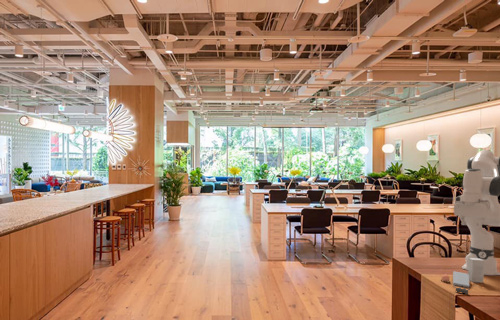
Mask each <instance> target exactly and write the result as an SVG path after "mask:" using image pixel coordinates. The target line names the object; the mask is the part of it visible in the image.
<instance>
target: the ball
mask: <svg viewBox="0 0 500 320" xmlns="http://www.w3.org/2000/svg"><path fill="white" fill-rule="evenodd" d="M441 279H442V282H444V281H447V282H449V281H450V276H449V275H448V274H443V275H441Z"/></svg>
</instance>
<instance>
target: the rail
mask: <svg viewBox="0 0 500 320" xmlns="http://www.w3.org/2000/svg"><path fill="white" fill-rule="evenodd" d="M461 288H462V287H459V288H456V287H455V292H456V291H457V292H462V293H465V294H464V295H467V294H468V295H469V290H466V289H467V288H464V289H461ZM457 292H456V293H457ZM462 293H461V294H462Z"/></svg>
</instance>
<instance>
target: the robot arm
mask: <svg viewBox="0 0 500 320" xmlns="http://www.w3.org/2000/svg"><path fill="white" fill-rule="evenodd" d="M461 187H462V189H463V190H462V194H461V195H458V196H456V197H454V204H453V214H454V215H455V216H456V217H457V216H458V217H459V219H460V221H461V223H460V224H461V226H467V227H468V229H469V231H470V245H469V253H468V254H466V256H465V258H464V260H465V263H464V264H463V265H462V266H461V269H463V270H466V271H468V262H469V258H480V259H482V260H484V276H500V271H498V269H497V264H498V263H497V262H498V261H497V259H496V258H495V257H494V256H495V250H494V243H495V242H494V241H495V237H494V235H493V234H492V233H491V232H489V231H487V230H486V229H484V227H483V225H484V226H492V227H500V202H499V199H498V197H499V196H500V156H495V154H494V152H493V151H491V150H489V149H482V150H479V151H478V152H477V153H476V154H475V155H474V156H472V157H470V158H469V159H467V162H466V169H465V170H464V174H463V179H462V184H461Z"/></svg>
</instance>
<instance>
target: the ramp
mask: <svg viewBox="0 0 500 320" xmlns="http://www.w3.org/2000/svg"><path fill="white" fill-rule="evenodd" d="M452 285H453V286H456V287H462V286H463V287H462V288H466V289H469V288H470V281H469V275H468V272H467V273H465V272H459V271H456V270H455V271H452Z"/></svg>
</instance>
